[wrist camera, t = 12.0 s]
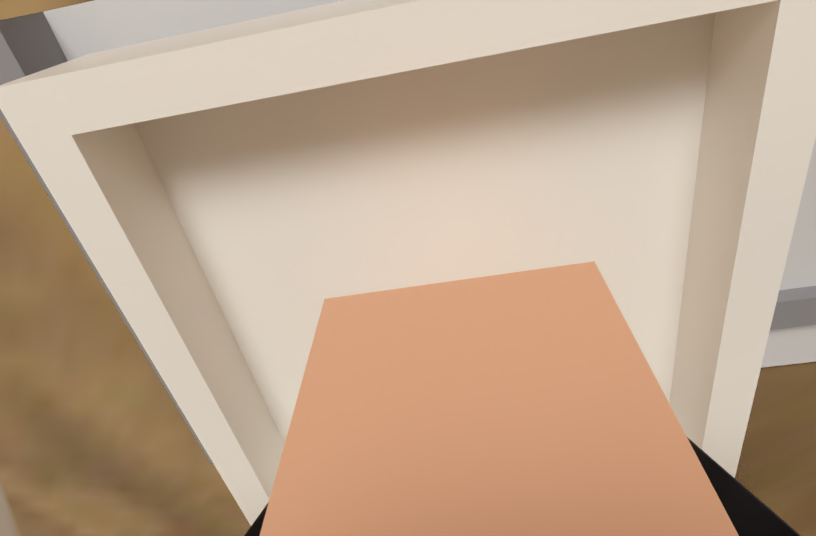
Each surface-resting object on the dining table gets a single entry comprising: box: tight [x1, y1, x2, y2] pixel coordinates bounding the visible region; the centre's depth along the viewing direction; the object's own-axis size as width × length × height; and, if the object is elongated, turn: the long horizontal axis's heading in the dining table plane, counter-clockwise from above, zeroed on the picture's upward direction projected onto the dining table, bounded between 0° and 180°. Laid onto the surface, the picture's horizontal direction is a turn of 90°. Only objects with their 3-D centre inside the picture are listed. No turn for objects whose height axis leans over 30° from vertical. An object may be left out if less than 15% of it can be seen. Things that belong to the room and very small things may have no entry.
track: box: [0, 0, 816, 464], centre depth 15 cm, size 16×34×2 cm, turn 101°
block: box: [260, 261, 739, 536], centre depth 8 cm, size 5×5×6 cm
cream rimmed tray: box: [0, 0, 816, 526], centre depth 14 cm, size 14×14×5 cm
